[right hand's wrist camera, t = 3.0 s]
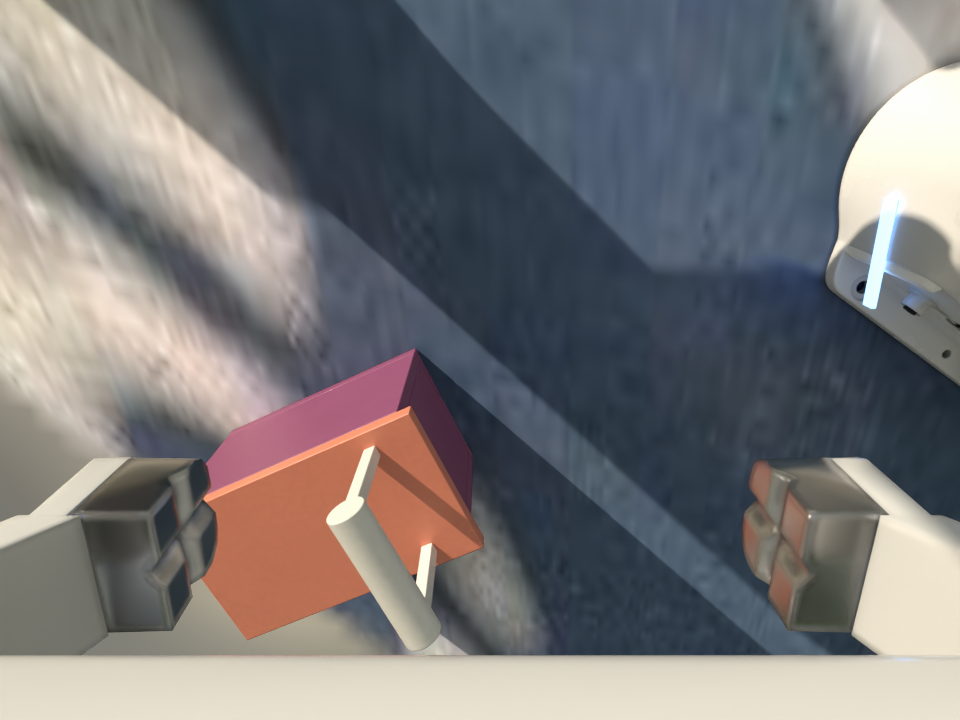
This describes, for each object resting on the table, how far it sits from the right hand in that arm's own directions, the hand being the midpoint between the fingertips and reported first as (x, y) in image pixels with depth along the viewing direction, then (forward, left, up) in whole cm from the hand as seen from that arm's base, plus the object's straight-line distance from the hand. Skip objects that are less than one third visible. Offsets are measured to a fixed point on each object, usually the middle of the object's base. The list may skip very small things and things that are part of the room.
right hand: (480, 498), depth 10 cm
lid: (-5, +18, -24) cm, 31 cm away
